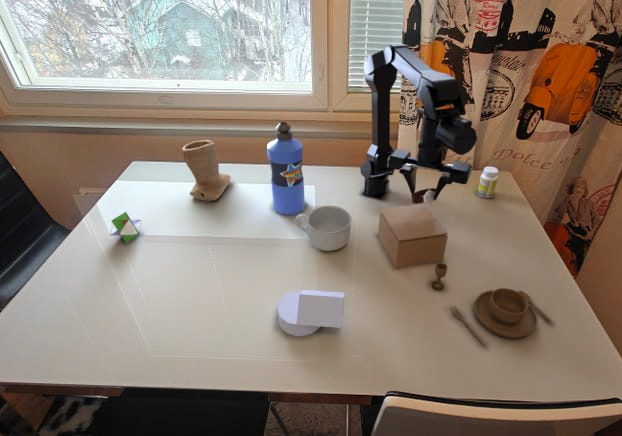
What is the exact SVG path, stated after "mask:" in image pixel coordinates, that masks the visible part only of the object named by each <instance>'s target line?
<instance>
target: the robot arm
mask: <svg viewBox="0 0 622 436" xmlns="http://www.w3.org/2000/svg"><path fill="white" fill-rule="evenodd" d="M363 72H364V73H363V74H364V80H365V82H366V84H367V86H368V87H369V89H370V91H371V145H370V147H369V149H368V150H367V152H366V160H365V162H364V163H362V165H360V167H359V168H360V175H362V176H363V177H364V189H363V191H362V192H361V195H363V196H368V197H371V198H374V199H378V200H382V199H383V198H384V197H385V196H386V195H387V194H388V192H389V191H390V179H389V176H393V175H394V174H395V170H397V171H398V173H399V174H401V175H402V176H403V178H404V180H405V182H406V183H407V186H408V188H409V192H410V194H411V195H412V194H413V193H415V192H416V189H417V187H416V186H417V171H418V168H420V169H425V170H429V171H434V172H439V173H441V176H440V177H439V179H438V181H437V185H436V188H435V189H436V192H435V195H434V201H433V202H436V201H437V199H438V198H439V196H440V193H441V192H442V191H443V189H444V188H445V187H446V186H447V185H452V184H453V183H455V184H460V185H467V184H468V181H469V180H470V177H471V175H472V171H473V165H472V164H471V163H468V162H464V161H459V160H455V161H454V163H453V164H450V163H443V162H444V161H445V160H446V159H447V155H448V150H449V151H452V152H453V153H455V154H457V155H459V156H464V155H465V154H468V153H469V152H470V151H471V150H472V149H474V147H475V145H476V143H477V141H478V134H477V131H476V129H475V128H474V127H472V126H473V120H470V119H467V118H464V117H462V116H466V115H467V111H466V104H465V101H464V99H463V96H462V91H461V90H462V89H461V87H460V83H459V81H458V79H457V78H455V77H453V76H451V75H449V74H447V73H445V72H441V71H437V70H435V69H432V67H430V66H429V65H428V64H427V63H426V62H424V60H422V59H421V58H420V57H418V56H417V55H416V54H415V53H414V52H413V51H412V50H410V47H409V46H408V45H407V44H404V43H399V44H389V45H388V46H386V47H385V48H383V49H382V50H380V51H378V52H375V53H373V54H371V55H367V58H366V59H365V60H364V63H363ZM398 72H399V73H400V74H401V75H402V76H403V77H404V78H406V80H407V81H408V82H410V83H411V84H412V85H413V86H414V87H415V89H416V97H417V99H418V100H419V102H420V103H421V104H422V105H421V106H419V107H418V108H417V112H419V113H420V114H422V118H421V119H422V120H421V127H420V135H419V140H418V145H417V149H418V150H417V156H416V157H413V156H412V153H411V151H409V150H404V149H400V148H396V149H393V147H392V145H391V90H392V88H393V86H394V85H395V83H396V81H397V78H398ZM452 106H453V107H452ZM445 107H446V108H445Z"/></svg>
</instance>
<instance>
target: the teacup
mask: <svg viewBox="0 0 622 436" xmlns="http://www.w3.org/2000/svg"><path fill="white" fill-rule="evenodd" d="M301 220H304V221H305V222H306V225H307V226H306V225H304V224H303V223H302V222H301ZM294 221H295V225H296V226H297V228H299V229H300V230H301V231H302V232H304V233H305V234H306V235H308V239H309V241H310V243H311V244H312V245H313V246H314V247H315V248H317V249H319V250H321V251H327V252H333V251H337V250H339V249H341V248H343V247H344V246H345V245H346V244H347V243H348V241H349V239H350V235H351V223H352V216H351V214H350V212H348V211H347V210H346V209H345V208H343V207H340V206H335V205H323V206H319V207H316V208H314V209H312V210H311V211H310V212H309V213H308V215H307V214H306V213H298V214H297V215H296V217H295V220H294Z"/></svg>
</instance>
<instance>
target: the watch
mask: <svg viewBox="0 0 622 436" xmlns="http://www.w3.org/2000/svg"><path fill="white" fill-rule="evenodd" d="M435 192H436V188H434V187H433V188H432V187H431V188H424V189H419V190H417V191H415V193H413V194H411V195H410V197H411V203H412V204H414V205H418V204H426V205H431V204H433V203H434V202H435V201H434V195H435Z"/></svg>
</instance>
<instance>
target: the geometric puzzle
mask: <svg viewBox="0 0 622 436" xmlns="http://www.w3.org/2000/svg"><path fill="white" fill-rule="evenodd" d="M139 222H142V219H136V220H133V219H131V217H130V216H129V214H128V212H127V211H124V212H123V213H121V214H120V215H118V216H117V217H115V218H112V219H111V224H112V226H111V229H110V232H113V231H112V230H113V226H114V228H115V230H116V231H114V232H113V233H109V236H120V237H121V239H122V241H124V243H125V244H128V242H129V243H130V242H131V241H133V239H135V238H136V237H138V236H139V235H141V234H140V229H137V226H136V224H138V223H139ZM141 226H142V225H141V224H140V225H139V228H141Z"/></svg>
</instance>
